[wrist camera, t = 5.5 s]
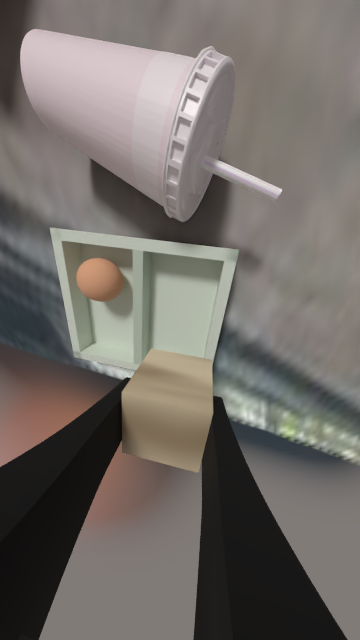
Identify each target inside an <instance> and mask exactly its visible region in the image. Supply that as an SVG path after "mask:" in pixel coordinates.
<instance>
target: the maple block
mask: <svg viewBox="0 0 360 640" xmlns="http://www.w3.org/2000/svg"><path fill="white" fill-rule="evenodd" d="M212 416H213V379H212V360H211V359H206V358H200V357H195V356H190V355H184V354H179V353H174V352H168V351H163V350H158V349H153V348H151V349H150V351H149V352H148V354H147V355H146V357H145V358H144V360H143V361H142V363H141V364H140V366H139V367H138V369H137V370H136V372H135V373H134V375H133V376H132V378H131V379H130V381H129V382H128V384H127V385H126V387H125V388H124V390H123V391H122V452H123V453H126V454H130V455H134V456H137V457H141V458H145V459H149V460H152V461H156V462H159V463H164V464H167V465H171V466H175V467H178V468H182V469H185V470H189V471H193V472H197V473H199V469H200V465H201V461H202V457H203V453H204V449H205V445H206V441H207V437H208V432H209V428H210V424H211V420H212Z"/></svg>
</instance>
